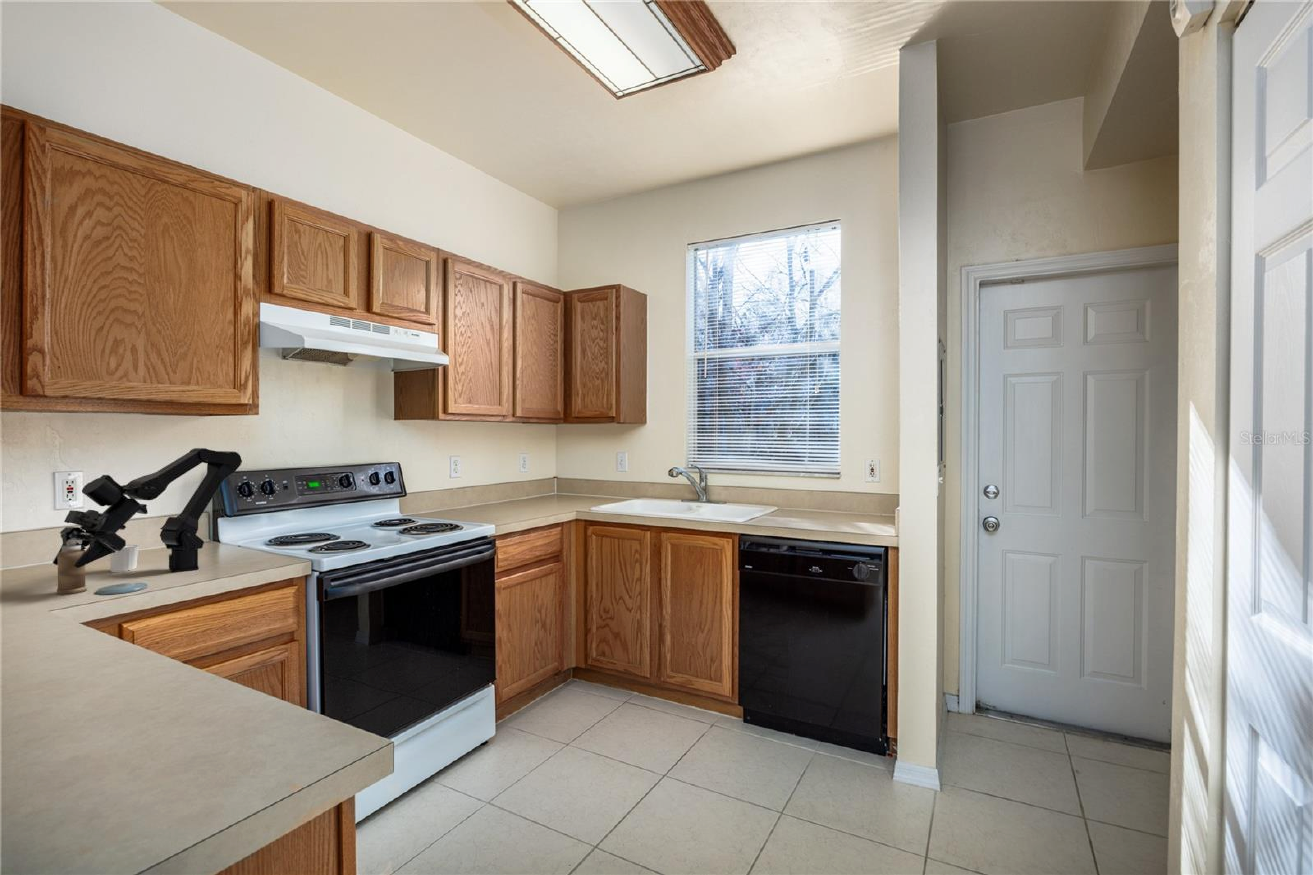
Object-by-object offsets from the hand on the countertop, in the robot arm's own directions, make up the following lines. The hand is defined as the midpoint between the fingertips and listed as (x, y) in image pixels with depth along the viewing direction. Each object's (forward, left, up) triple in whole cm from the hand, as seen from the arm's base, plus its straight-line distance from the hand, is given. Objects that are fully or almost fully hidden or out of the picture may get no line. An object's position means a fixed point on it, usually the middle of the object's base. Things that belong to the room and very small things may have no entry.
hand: (65, 565), depth 158 cm
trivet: (-11, +4, -7) cm, 14 cm away
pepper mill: (-1, -1, -7) cm, 7 cm away
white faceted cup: (-11, -25, -7) cm, 28 cm away
